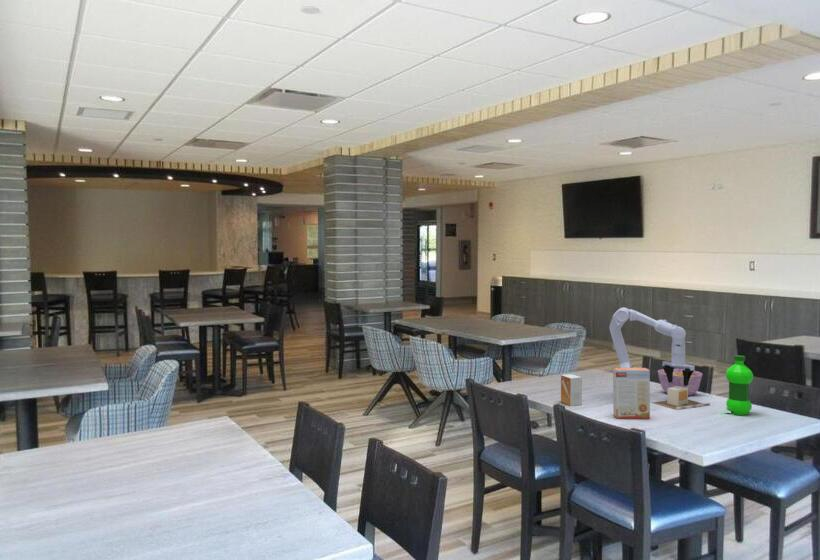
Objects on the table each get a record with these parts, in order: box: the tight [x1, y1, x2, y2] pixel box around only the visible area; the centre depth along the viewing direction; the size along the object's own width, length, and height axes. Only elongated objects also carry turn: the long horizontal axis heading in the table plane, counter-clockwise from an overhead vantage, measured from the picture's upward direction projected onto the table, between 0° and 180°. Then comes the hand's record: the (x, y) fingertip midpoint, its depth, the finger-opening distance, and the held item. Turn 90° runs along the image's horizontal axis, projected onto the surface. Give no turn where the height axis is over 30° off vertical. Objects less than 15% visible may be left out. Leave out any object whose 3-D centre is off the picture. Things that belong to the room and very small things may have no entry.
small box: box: [560, 373, 583, 407], centre depth 287 cm, size 8×6×13 cm
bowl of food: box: [657, 368, 703, 397], centre depth 301 cm, size 20×20×12 cm
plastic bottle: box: [725, 354, 754, 416], centre depth 267 cm, size 10×10×25 cm
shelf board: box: [652, 399, 711, 411], centre depth 279 cm, size 20×15×2 cm
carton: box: [666, 386, 689, 406], centre depth 280 cm, size 8×5×7 cm, turn 124°
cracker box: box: [612, 367, 651, 420], centre depth 263 cm, size 14×6×21 cm, turn 84°
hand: (678, 383), depth 280 cm, fingers open, 7 cm apart
